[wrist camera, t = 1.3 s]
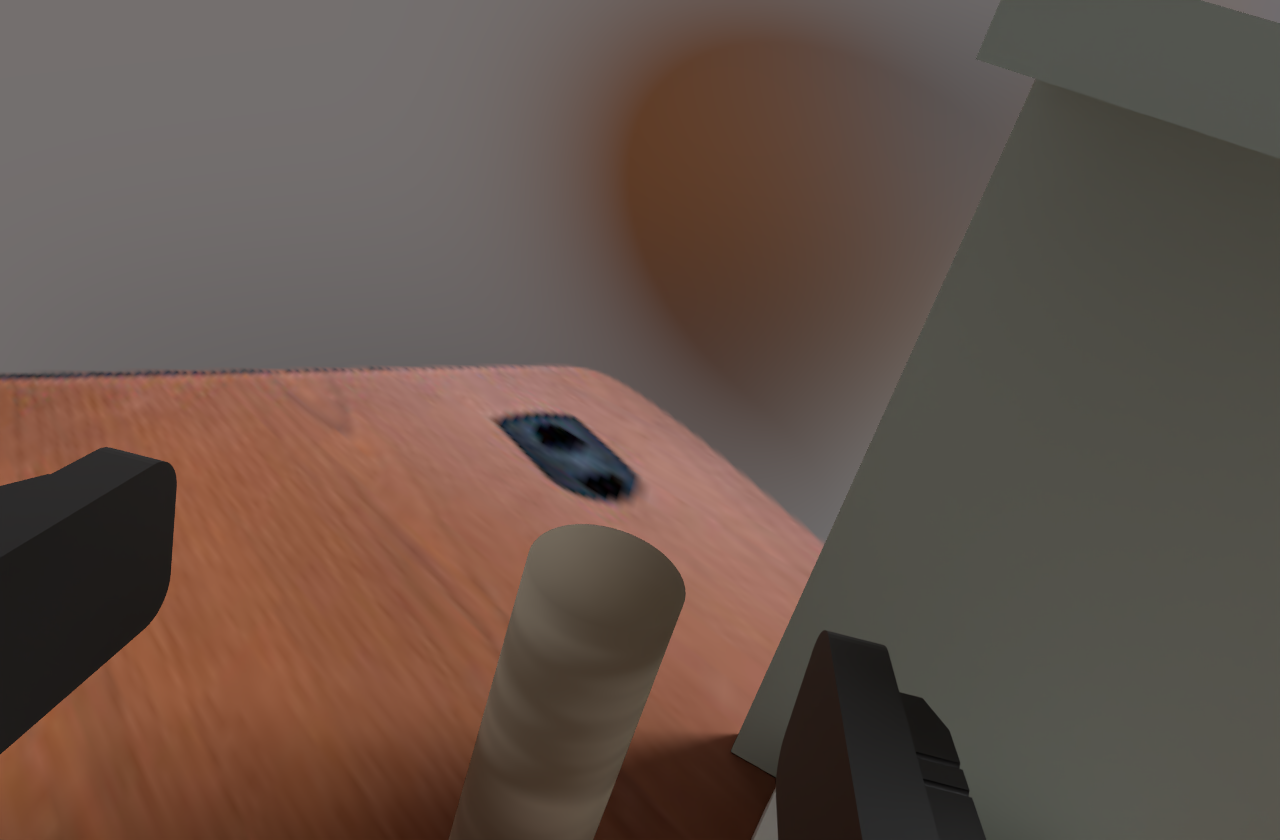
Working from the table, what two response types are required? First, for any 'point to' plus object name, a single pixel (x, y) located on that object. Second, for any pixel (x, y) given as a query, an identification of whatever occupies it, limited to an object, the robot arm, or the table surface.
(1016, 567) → the c-shaped stand frame
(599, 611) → the birch peg
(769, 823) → the socket plate
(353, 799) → the table surface
